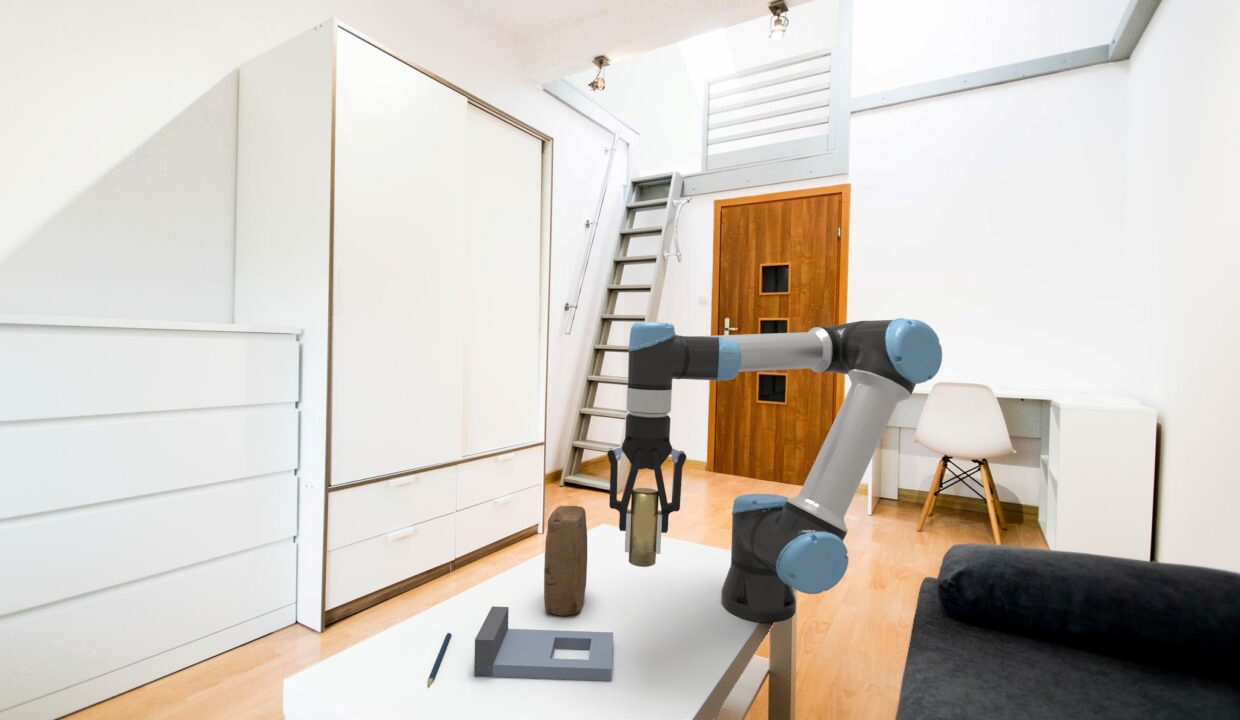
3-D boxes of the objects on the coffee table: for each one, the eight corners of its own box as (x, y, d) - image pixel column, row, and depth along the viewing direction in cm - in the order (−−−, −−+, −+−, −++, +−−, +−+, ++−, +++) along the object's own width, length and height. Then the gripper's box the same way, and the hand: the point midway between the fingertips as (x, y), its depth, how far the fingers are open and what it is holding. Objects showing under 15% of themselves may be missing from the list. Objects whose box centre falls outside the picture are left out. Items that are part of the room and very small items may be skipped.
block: (577, 620, 106) (579, 518, 105) (540, 616, 107) (542, 515, 107) (589, 595, 117) (592, 502, 116) (556, 591, 118) (558, 500, 117)
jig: (612, 643, 98) (613, 610, 98) (611, 681, 87) (612, 644, 87) (491, 639, 99) (491, 606, 98) (474, 676, 88) (474, 639, 87)
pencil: (451, 637, 99) (431, 690, 84) (445, 637, 99) (424, 690, 84) (451, 632, 99) (431, 684, 84) (446, 632, 99) (424, 684, 84)
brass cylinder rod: (654, 556, 95) (658, 488, 95) (656, 567, 91) (659, 495, 90) (628, 555, 95) (631, 487, 95) (628, 566, 91) (631, 494, 90)
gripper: (697, 413, 96) (691, 544, 97) (597, 408, 96) (592, 539, 97) (703, 418, 88) (696, 561, 89) (595, 414, 88) (589, 556, 89)
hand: (642, 549), depth 93 cm, fingers closed on brass cylinder rod, 4 cm apart
